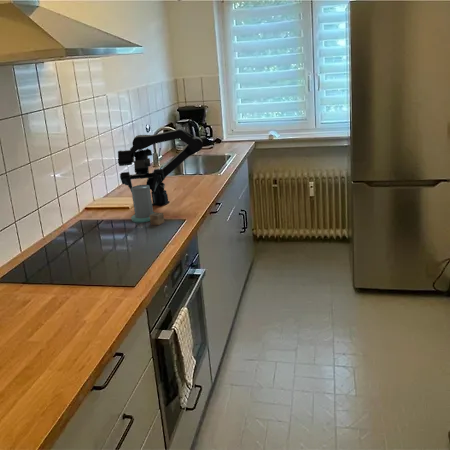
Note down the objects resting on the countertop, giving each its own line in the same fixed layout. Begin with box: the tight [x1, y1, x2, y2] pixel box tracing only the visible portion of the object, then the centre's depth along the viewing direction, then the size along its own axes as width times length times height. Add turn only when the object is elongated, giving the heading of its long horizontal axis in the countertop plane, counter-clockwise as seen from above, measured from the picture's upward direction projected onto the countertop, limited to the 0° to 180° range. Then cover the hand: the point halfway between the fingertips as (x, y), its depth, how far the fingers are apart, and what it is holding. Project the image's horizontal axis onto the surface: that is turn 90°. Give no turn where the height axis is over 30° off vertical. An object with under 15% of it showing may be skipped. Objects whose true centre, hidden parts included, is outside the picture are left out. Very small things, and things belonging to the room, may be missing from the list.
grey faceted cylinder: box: [130, 184, 154, 219], centre depth 213 cm, size 7×7×12 cm
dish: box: [130, 211, 155, 224], centre depth 216 cm, size 11×11×1 cm
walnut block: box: [149, 211, 165, 226], centre depth 207 cm, size 4×4×4 cm
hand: (143, 192), depth 220 cm, fingers open, 9 cm apart
